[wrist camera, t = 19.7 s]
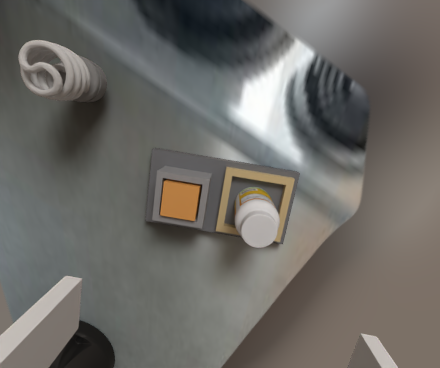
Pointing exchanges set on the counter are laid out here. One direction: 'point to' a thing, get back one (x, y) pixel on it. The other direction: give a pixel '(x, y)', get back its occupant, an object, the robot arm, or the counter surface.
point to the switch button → (180, 199)
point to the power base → (218, 189)
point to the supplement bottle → (256, 217)
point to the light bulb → (60, 73)
